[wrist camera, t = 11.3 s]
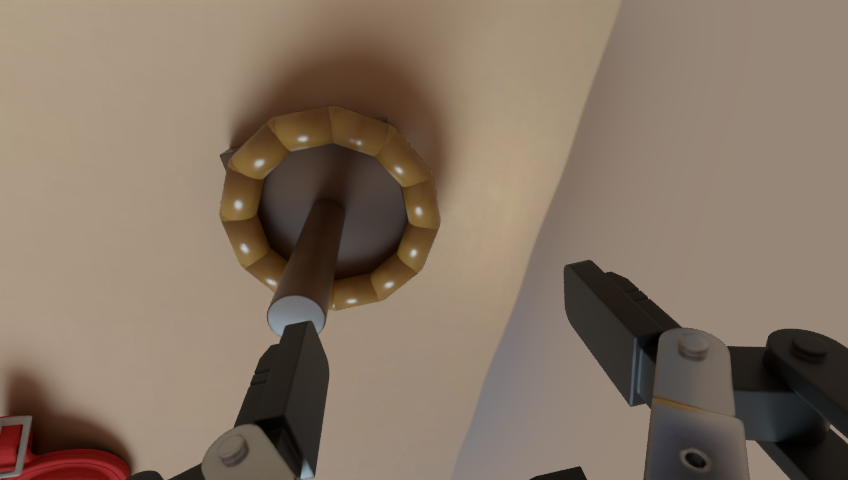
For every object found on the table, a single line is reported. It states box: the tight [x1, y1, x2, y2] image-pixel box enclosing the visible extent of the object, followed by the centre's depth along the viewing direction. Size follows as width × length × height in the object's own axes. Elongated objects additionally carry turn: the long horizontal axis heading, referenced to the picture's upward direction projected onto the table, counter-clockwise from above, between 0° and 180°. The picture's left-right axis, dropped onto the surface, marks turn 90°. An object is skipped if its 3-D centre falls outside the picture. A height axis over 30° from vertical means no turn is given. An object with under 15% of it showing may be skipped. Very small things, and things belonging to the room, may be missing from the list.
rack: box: [220, 117, 408, 337], centre depth 19 cm, size 9×9×12 cm
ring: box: [219, 105, 440, 311], centre depth 22 cm, size 12×12×2 cm
